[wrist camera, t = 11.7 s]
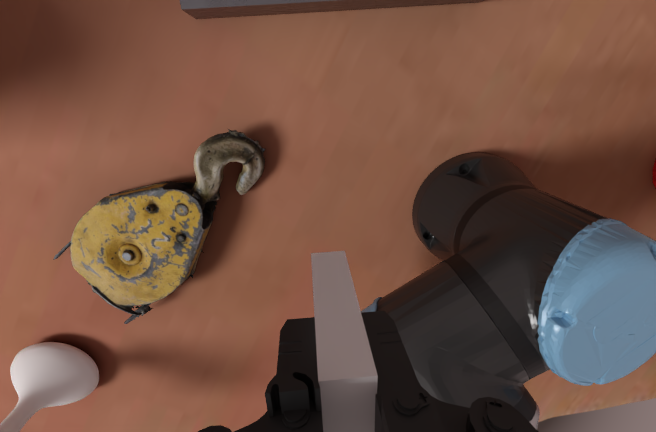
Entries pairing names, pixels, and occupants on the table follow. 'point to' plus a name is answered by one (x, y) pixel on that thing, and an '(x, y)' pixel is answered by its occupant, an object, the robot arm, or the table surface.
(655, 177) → the kitchen timer
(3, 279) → the table surface
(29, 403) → the flower in vase
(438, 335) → the robot arm
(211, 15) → the bay
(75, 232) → the pulley block
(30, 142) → the table surface
